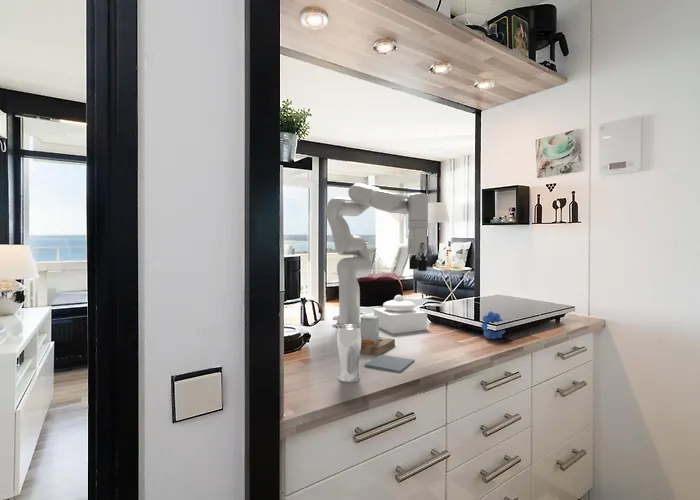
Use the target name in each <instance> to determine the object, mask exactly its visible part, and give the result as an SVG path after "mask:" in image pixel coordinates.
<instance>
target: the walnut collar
mask: <svg viewBox="0 0 700 500" xmlns="http://www.w3.org/2000/svg"><path fill="white" fill-rule="evenodd" d="M395 344H396V339H395V338H389V337H383V336H382V337H381V336H379V343H377V344H375V345H372V344H366V343H361V351H360V354H365V355H372V356H376V357H377V356H379V355H381V354H382V355H383V353H385V352H387V351H388V350H390V349H392V348H394V347H395V346H396V345H395Z"/></svg>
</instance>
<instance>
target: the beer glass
mask: <svg viewBox="0 0 700 500" xmlns="http://www.w3.org/2000/svg"><path fill="white" fill-rule="evenodd" d="M336 348H337V349H336V350H337V355H338V360H339V361H338V362H339V373H338V380H339V381H340V382H341V383H349V384H350V383H351V384H352V383H356V382H358V381H360V379H361V378H360V371H359V362H360V356H361V353H360V351H361V328H360V326H359V325H354V324H344V325H339V326H338V327H337V332H336Z"/></svg>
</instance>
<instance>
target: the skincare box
mask: <svg viewBox="0 0 700 500" xmlns="http://www.w3.org/2000/svg"><path fill="white" fill-rule="evenodd" d="M360 328H361V343H366V344H372V345H375V344H377V343H379V337H380V336H379V335H380V334H379V333H380V328H379V316H374V315H365V314H364V315H361V316H360Z"/></svg>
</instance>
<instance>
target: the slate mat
mask: <svg viewBox="0 0 700 500" xmlns="http://www.w3.org/2000/svg"><path fill="white" fill-rule="evenodd" d="M413 363H415V359H412V358H405V357H400V356H393V355H387V354H383V353H382V354H380V355H379V356H377V355H376V356H375V357H374V358H373V359H370V360H369V361H368V362H365V363H363V364H364V365H363V366H364V368H368V369H376V370H380V371H386V372H390V373H391V372H392V373H397V374H401V373H402V372H403V371H404V370H406V369H407V368H409V367H410V366H411V365H412V364H413Z"/></svg>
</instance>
